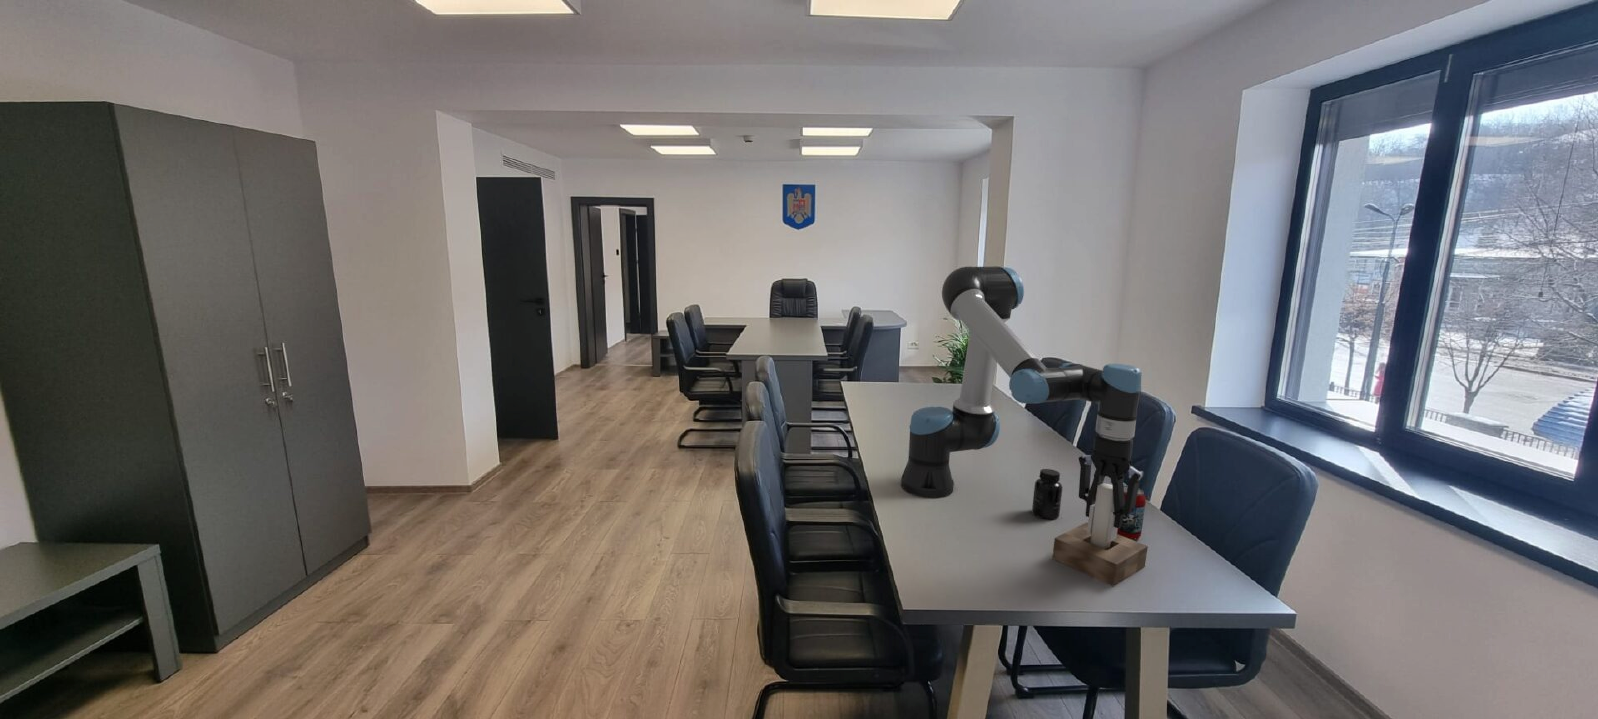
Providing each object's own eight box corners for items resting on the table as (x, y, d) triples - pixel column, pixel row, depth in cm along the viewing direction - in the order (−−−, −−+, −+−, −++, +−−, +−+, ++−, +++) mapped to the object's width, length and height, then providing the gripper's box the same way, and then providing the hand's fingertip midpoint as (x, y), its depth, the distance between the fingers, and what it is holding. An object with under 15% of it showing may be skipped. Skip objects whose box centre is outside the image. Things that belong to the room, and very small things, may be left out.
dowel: (1085, 552, 136) (1094, 485, 133) (1094, 547, 139) (1103, 482, 136) (1103, 559, 133) (1112, 491, 130) (1112, 554, 136) (1121, 487, 133)
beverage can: (1129, 543, 146) (1135, 497, 143) (1104, 531, 151) (1109, 486, 149) (1146, 538, 149) (1153, 492, 146) (1121, 526, 154) (1127, 482, 152)
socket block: (1052, 558, 138) (1054, 537, 137) (1084, 541, 146) (1086, 522, 145) (1113, 586, 127) (1116, 564, 126) (1144, 566, 135) (1147, 545, 134)
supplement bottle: (1061, 521, 157) (1066, 477, 154) (1034, 518, 158) (1038, 475, 156) (1056, 510, 163) (1060, 468, 161) (1029, 507, 165) (1034, 466, 162)
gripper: (1068, 428, 135) (1057, 525, 140) (1146, 449, 122) (1132, 556, 126) (1085, 423, 140) (1074, 517, 144) (1163, 443, 126) (1148, 546, 131)
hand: (1101, 535), depth 135 cm, fingers closed on dowel, 4 cm apart
